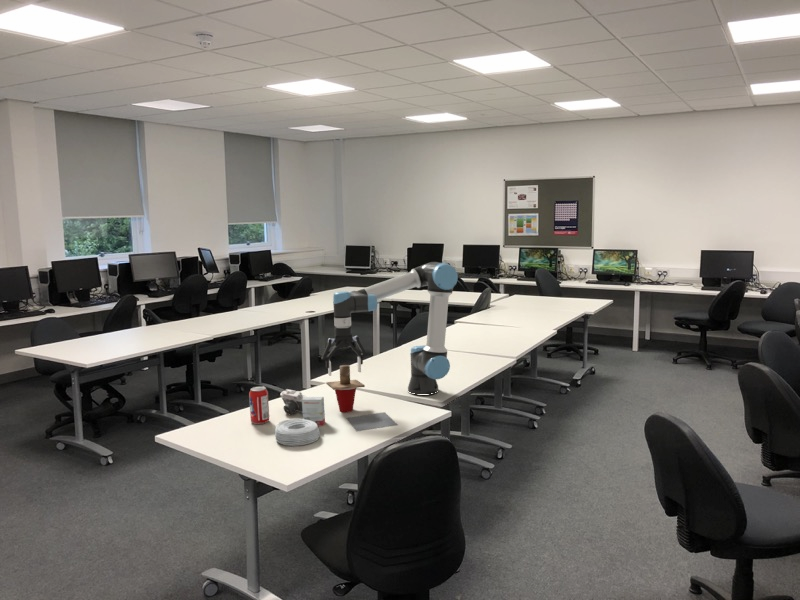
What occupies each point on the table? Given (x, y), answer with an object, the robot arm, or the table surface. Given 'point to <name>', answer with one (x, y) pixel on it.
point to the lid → (345, 380)
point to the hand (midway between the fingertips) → (344, 373)
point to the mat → (371, 421)
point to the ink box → (314, 409)
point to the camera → (292, 401)
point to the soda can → (259, 405)
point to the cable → (296, 432)
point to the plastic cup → (345, 399)
